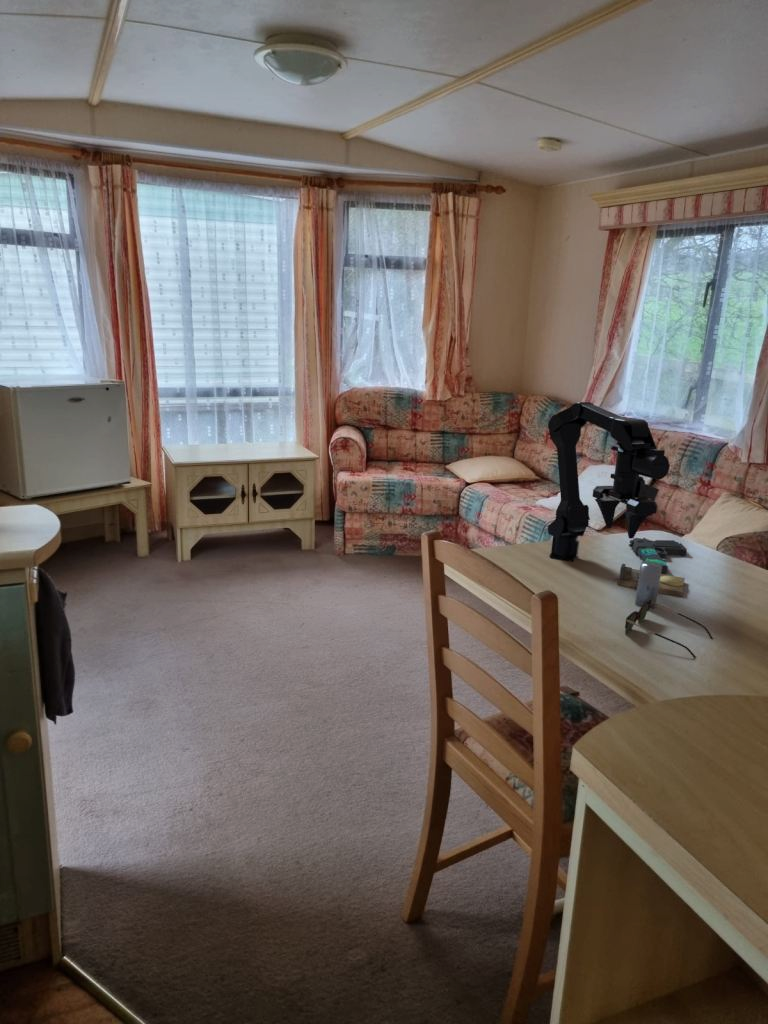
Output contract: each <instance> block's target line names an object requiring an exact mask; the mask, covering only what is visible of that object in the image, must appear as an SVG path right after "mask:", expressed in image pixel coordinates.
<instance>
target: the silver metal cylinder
mask: <svg viewBox="0 0 768 1024" xmlns="http://www.w3.org/2000/svg"><path fill="white" fill-rule="evenodd" d="M639 570H640V573H639V579H638V586H637V588H636V593H635V600H634V604H635V605H636V606H637V607H639V608H641V607H642V606H643V604H644V603H645V602H647V601H649V600H652V601H653V602H656V603H658V602H657V601H658V593H659V592H658V589H659V583H660V576H661V570H662V565H661V564H659V563H656V562H652V561H643V560H642V561H641V562H640V568H639ZM656 607H657V605H655V604H653V603H651V604H650V608H649V610H652V609H655V608H656Z"/></svg>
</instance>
